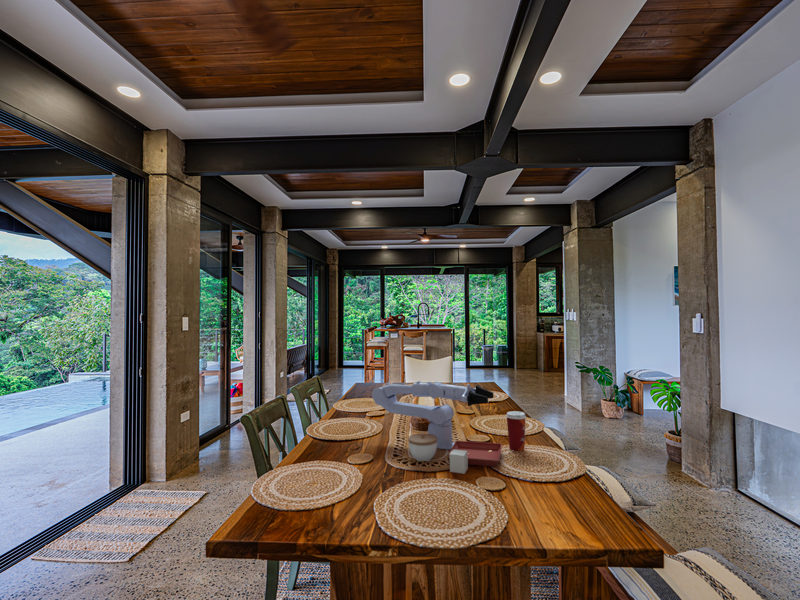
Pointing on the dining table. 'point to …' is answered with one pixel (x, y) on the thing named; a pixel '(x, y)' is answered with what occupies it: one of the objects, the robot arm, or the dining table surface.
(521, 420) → the paper cup
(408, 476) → the dining table surface
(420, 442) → the lidded jar
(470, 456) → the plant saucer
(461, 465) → the block
